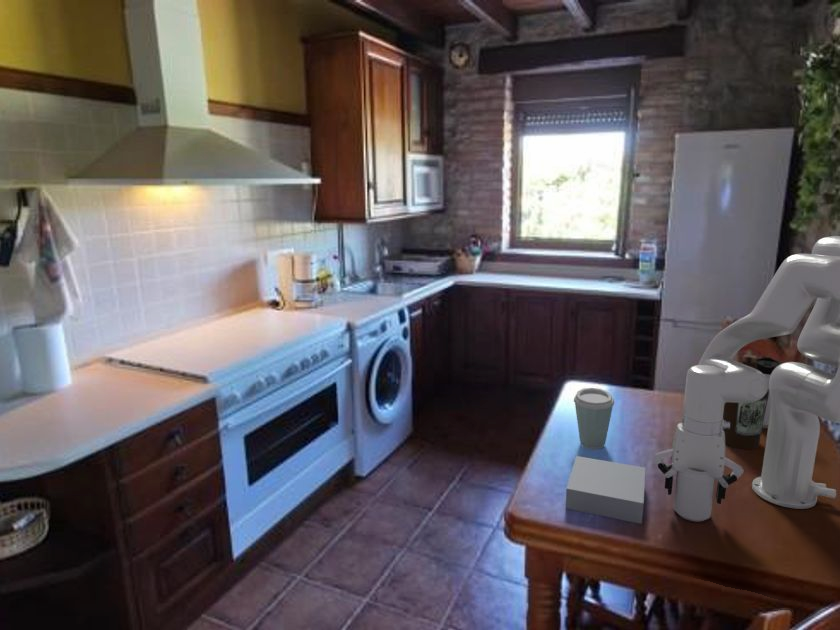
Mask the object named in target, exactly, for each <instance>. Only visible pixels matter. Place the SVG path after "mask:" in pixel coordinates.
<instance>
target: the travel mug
mask: <svg viewBox="0 0 840 630" xmlns="http://www.w3.org/2000/svg"><path fill="white" fill-rule="evenodd" d="M780 364H781V362H780V361H778V360H776V359H773V358H772V357H771V356H770V357H769V356H768V357H767V356H765V357H760V358H757V366H756V369H757V370H758V371H760V372H762V373H763V374H764V375H765V376H766V378H767V380H768V384H769V380H770V376H771V374H772V372H773V370H774V369H775V368H776V367H777V366H779V365H780ZM768 389H769V387H768ZM769 419H770V392H769V397H768V401H767V406H766V411H765V416H764V421H763V426H762V429H768V426H769Z"/></svg>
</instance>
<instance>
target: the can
mask: <svg viewBox="0 0 840 630" xmlns="http://www.w3.org/2000/svg"><path fill="white" fill-rule="evenodd" d="M686 469H687V471H684V472H677V473H676V475H675V477H676V479H675V484H674V485H675V486H674V488H675V489H674V496H673V506H672V507H673V510H674V511H675V512H676V513H677V514H678V515H679V516H680V517H681V518H682V519H684V520H686V521H690V522H697V523H698V522H703V521H705V520H708V519H710V518H711V516H712V508H713V499H714V491H715V484H716V478H713V477H711V476H710V475H708V473H709V472H698V471H694V470H691V469H688V468H686Z"/></svg>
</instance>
